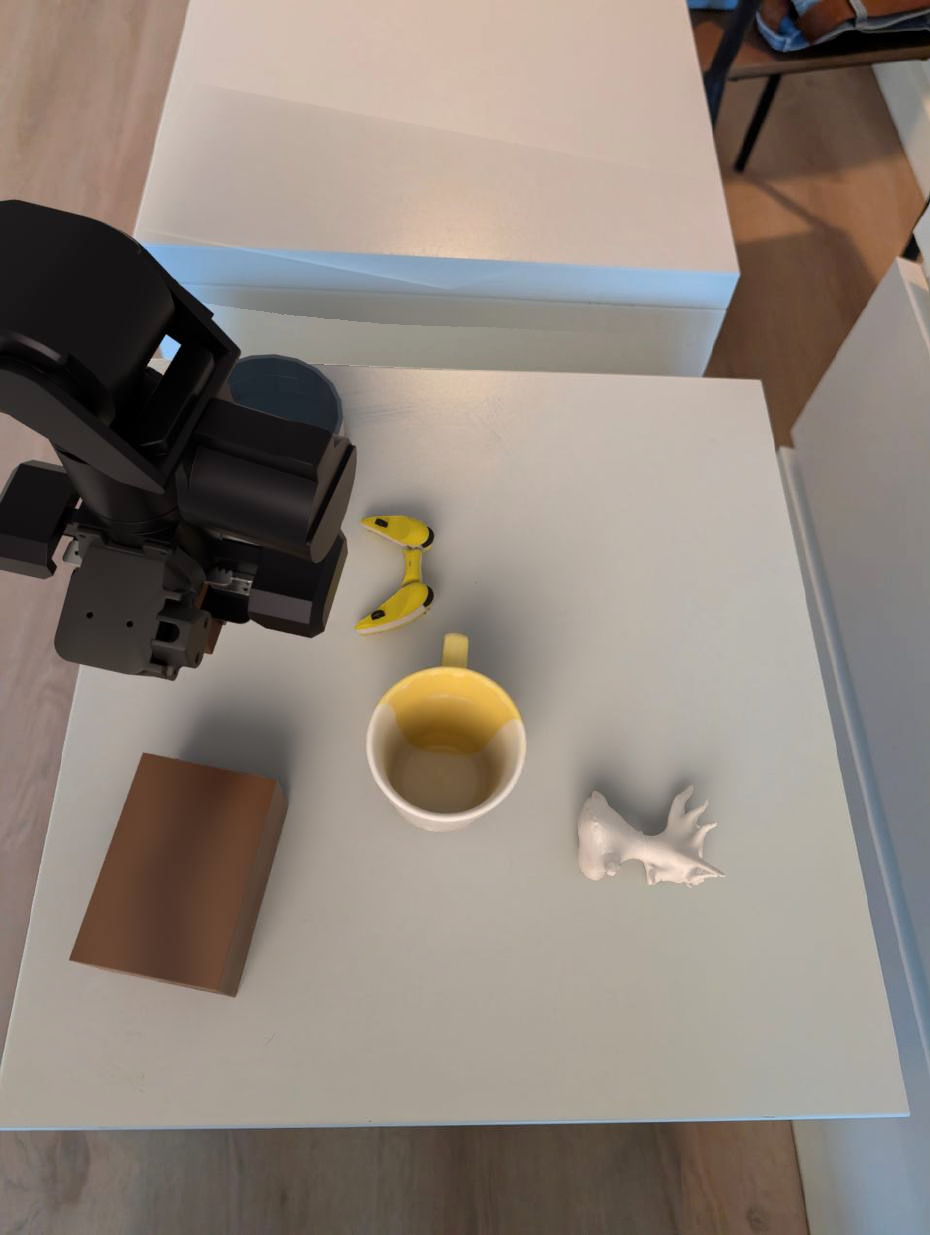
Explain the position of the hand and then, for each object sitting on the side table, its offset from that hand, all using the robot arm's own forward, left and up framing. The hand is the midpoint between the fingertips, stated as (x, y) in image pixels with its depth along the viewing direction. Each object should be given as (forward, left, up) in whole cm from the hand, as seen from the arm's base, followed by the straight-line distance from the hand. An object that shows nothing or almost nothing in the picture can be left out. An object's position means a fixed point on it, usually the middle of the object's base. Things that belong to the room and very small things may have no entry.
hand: (198, 612), depth 58 cm
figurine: (+32, -6, -13) cm, 35 cm away
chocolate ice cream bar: (0, +2, 0) cm, 2 cm away
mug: (+17, -3, -13) cm, 22 cm away
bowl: (-3, +21, -13) cm, 25 cm away
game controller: (+10, +11, -13) cm, 20 cm away
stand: (+2, -15, -13) cm, 20 cm away
